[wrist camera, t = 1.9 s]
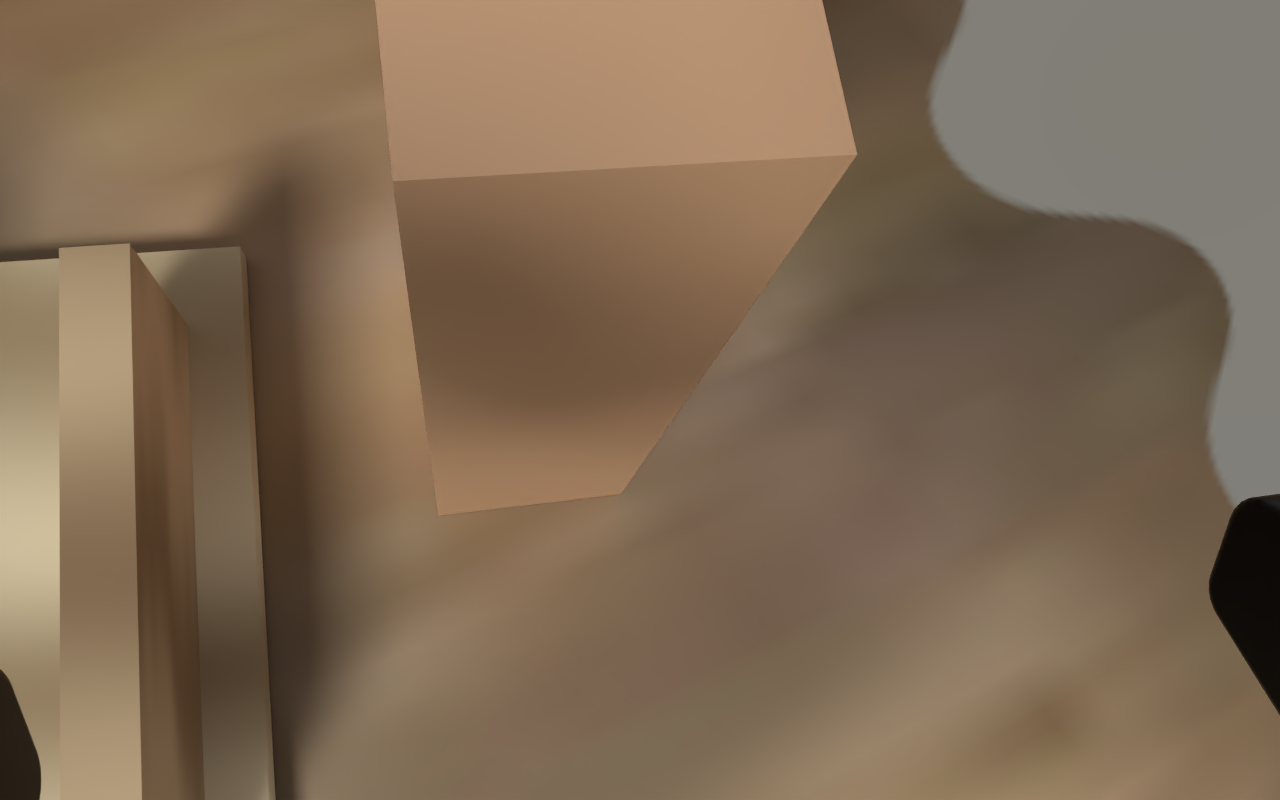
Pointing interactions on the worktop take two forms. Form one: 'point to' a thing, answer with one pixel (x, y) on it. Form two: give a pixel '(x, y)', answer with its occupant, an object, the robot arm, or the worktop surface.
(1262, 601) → the robot arm
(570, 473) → the tan rectangular block
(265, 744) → the drying rack
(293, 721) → the worktop surface
